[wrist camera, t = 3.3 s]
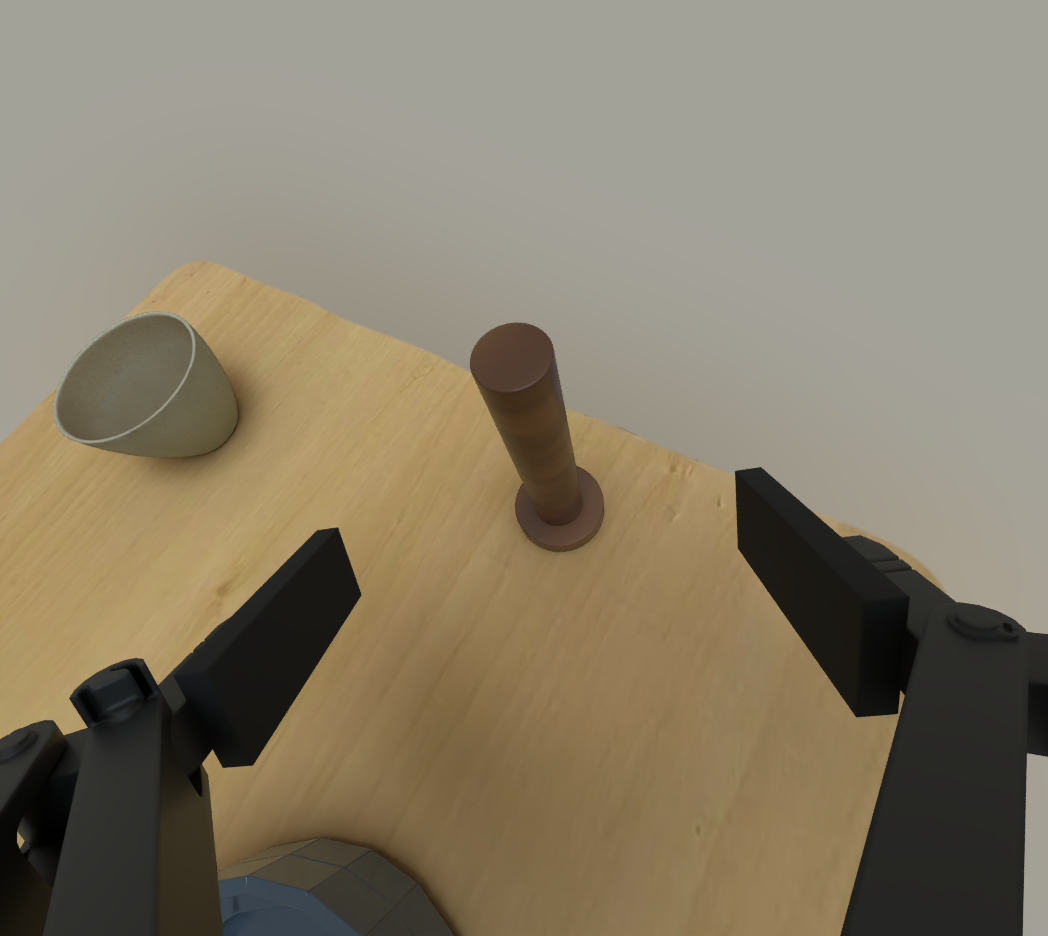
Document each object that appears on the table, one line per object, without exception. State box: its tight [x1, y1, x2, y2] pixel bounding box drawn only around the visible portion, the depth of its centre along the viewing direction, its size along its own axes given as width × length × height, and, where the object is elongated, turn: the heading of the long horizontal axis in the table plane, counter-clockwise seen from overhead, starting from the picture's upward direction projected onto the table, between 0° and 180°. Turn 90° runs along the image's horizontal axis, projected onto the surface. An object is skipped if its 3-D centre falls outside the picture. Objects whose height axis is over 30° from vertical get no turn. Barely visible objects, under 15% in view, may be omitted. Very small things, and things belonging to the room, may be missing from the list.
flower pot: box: [53, 311, 238, 457], centre depth 34 cm, size 10×10×7 cm
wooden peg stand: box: [470, 323, 604, 552], centre depth 22 cm, size 5×5×15 cm
